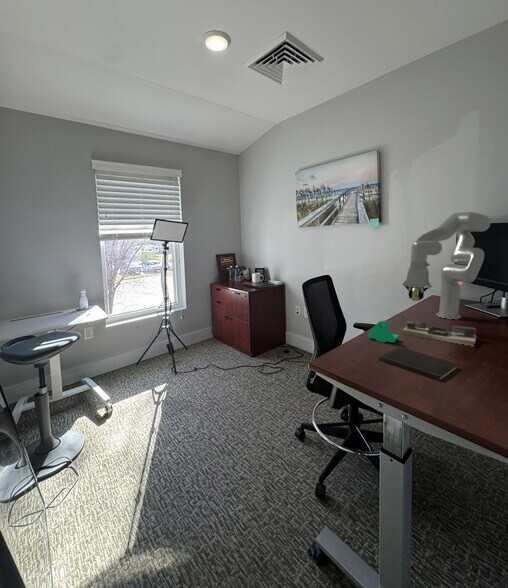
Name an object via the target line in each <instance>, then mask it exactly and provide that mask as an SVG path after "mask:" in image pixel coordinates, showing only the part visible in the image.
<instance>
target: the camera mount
mask: <svg viewBox="0 0 508 588" xmlns="http://www.w3.org/2000/svg"><path fill="white" fill-rule="evenodd" d="M367 338H370V339H374V340H377V341H376V342H379V341H381V342H380V343H384V342H385V344H386V343H395V342H397V340H398V339H399V335H398V334H394V333H392V330H391V329H390V327H389V323H388V321H387V320H386V319H381V320H379V321H377V323H376V324H375V325H374V326H373V327H372V329H371V330H370V332H368V334H367Z"/></svg>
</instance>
